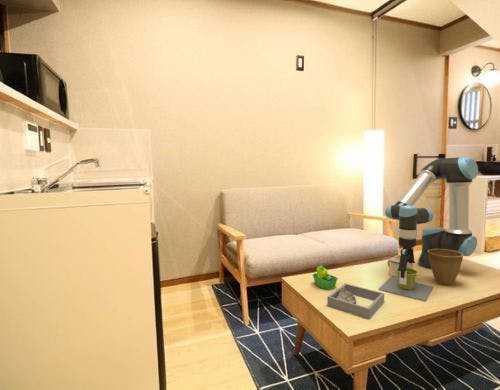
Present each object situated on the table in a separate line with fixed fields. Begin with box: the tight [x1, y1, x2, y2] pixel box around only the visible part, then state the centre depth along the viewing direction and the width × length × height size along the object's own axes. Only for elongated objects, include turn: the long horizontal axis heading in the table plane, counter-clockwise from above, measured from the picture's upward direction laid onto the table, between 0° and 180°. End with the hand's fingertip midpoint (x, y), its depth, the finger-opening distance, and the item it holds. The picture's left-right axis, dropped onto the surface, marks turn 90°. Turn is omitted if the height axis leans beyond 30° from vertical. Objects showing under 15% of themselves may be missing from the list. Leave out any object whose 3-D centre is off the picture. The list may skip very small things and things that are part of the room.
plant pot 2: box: [428, 249, 464, 286], centre depth 145 cm, size 15×15×16 cm
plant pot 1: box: [396, 268, 419, 290], centre depth 139 cm, size 9×9×9 cm
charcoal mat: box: [378, 276, 435, 302], centre depth 139 cm, size 20×20×1 cm
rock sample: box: [336, 287, 358, 304], centre depth 125 cm, size 10×8×9 cm
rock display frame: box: [326, 283, 385, 320], centre depth 125 cm, size 19×18×4 cm
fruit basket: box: [312, 265, 338, 291], centre depth 144 cm, size 11×9×11 cm
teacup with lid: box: [386, 254, 409, 279], centre depth 157 cm, size 12×9×12 cm
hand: (406, 279), depth 139 cm, fingers open, 13 cm apart
